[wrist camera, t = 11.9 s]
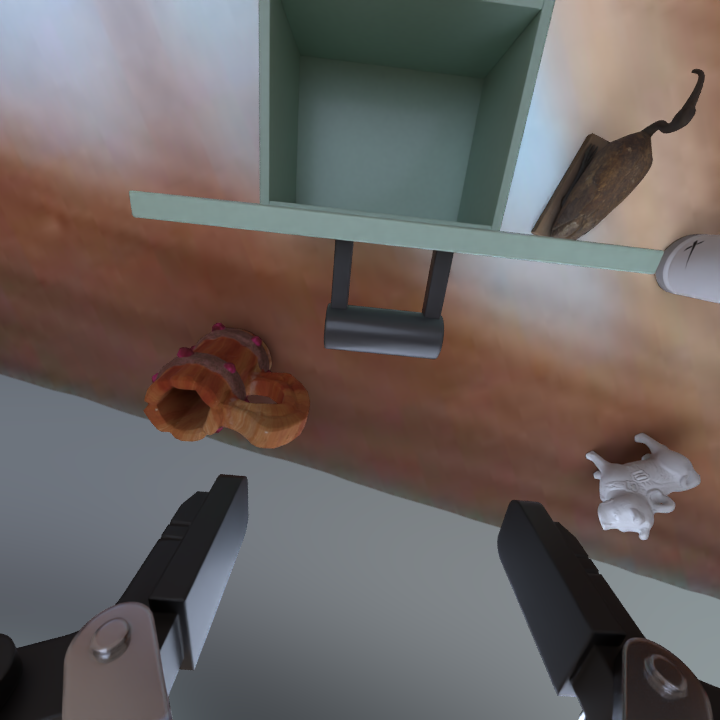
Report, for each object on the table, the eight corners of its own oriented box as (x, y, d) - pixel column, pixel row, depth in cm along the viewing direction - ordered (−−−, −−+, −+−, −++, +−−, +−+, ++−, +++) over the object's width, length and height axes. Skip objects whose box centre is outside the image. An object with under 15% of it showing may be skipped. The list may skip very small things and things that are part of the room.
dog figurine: (557, 463, 47) (608, 527, 37) (652, 426, 44) (735, 483, 35) (568, 490, 49) (620, 557, 39) (660, 455, 46) (741, 517, 36)
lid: (127, 190, 11) (152, 350, 13) (665, 250, 11) (601, 394, 14) (257, 203, 24) (258, 281, 26) (502, 231, 25) (483, 305, 27)
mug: (196, 369, 42) (114, 441, 28) (207, 308, 39) (121, 354, 25) (310, 403, 43) (285, 487, 30) (328, 347, 41) (311, 410, 27)
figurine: (616, 85, 31) (705, 35, 23) (654, 108, 32) (755, 68, 24) (529, 233, 36) (578, 235, 28) (564, 251, 36) (622, 258, 28)
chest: (294, 48, 30) (258, -46, 20) (490, 73, 31) (556, -5, 20) (289, 214, 35) (259, 209, 25) (459, 233, 36) (498, 236, 25)
